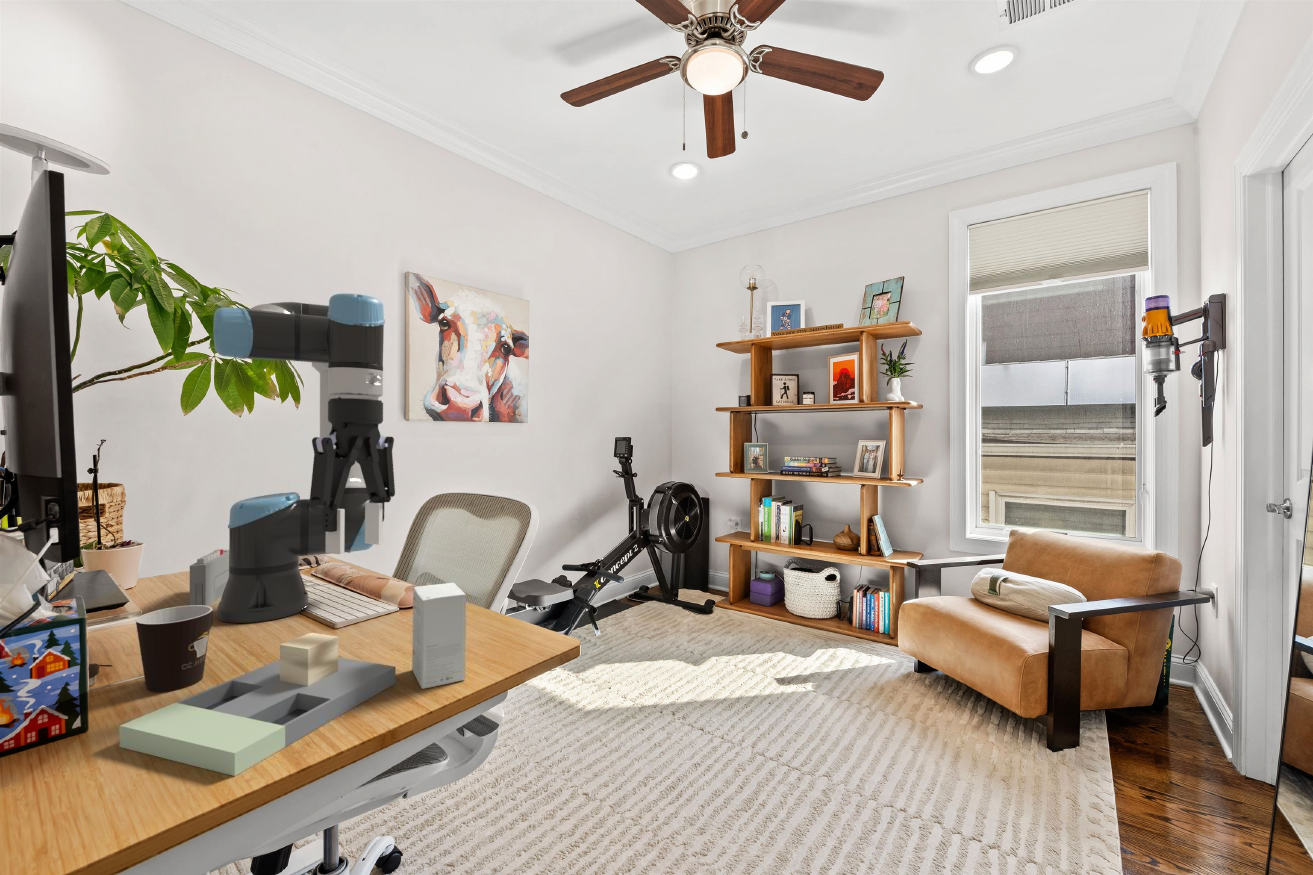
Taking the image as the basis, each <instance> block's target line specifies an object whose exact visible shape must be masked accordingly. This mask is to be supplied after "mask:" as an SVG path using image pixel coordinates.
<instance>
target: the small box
mask: <svg viewBox="0 0 1313 875" xmlns="http://www.w3.org/2000/svg"><path fill="white" fill-rule="evenodd" d="M412 590H413V592H412V596H413V597H412V653H411V655H412V656H411V670H412V672H413V674H414V676H415V678H416V681H417V682H418V685H419V686H420V688H421V689H422V690H424V689H428V688H429V689H430V688H433V687H438V686H439V687H440V686H442V685H443V686H444V685H448V684H452V683H456V682H462V681H465V680H466V664H467V663H466V662H467V661H466V650H467V648H466V647H467V646H466V643H467V642H466V640H467V638H466V636H467V635H466V634H467V632H466V631H467V630H466V629H467V626H466V624H467V594H466V593H465V592H464V591H463V590H462V589H461V587H459V586H458V585H457V584H456V583H455V582H447V583H438V584H437V583H436V584H429V585H420V586H413V589H412Z"/></svg>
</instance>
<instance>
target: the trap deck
mask: <svg viewBox="0 0 1313 875" xmlns="http://www.w3.org/2000/svg"><path fill="white" fill-rule="evenodd" d="M396 668H397V667H396V666H393V665H388V664H382V663H376V662H375V663H374V662H370V661H363V660H356V659H350V658H346V657H339V656H338V672H336V673H334V674H332V675H330V676H327V677H325V678H323V679H321V680H319V681H317V682H315V683H313V684H311V685H309V686H306V685H300V684H295V683H289V682H284V681H280V659H278V660H275V661H272V662H271V663H268V664H266V665H265V664H264V665H263V666H261V667H257V668H255V669H253V670H250V671H248V672H245V673H244V674H241V675H239V676H237V677H234V678H231V679H230V680H227V681H224V682H222V683H220V684H217V685H215V686H212V687H210V688H208V689H205V690H202V691H200V692H197V693H195V694H193V695H191V696H188V697H186V698H183V699H181V700H179V701H176V702H174V703H171V704H169V705H166V706H164V707H161V708H159V709H157V710H154V711H152V712H150V713H147V714H144V715H141V716H140V717H137V718H135V719H131V720H130V721H128V722H124V723H123V724H121V725H119V748H123V749H127V750H131V751H134V752H139V753H142V754H146V755H151V756H155V757H158V758H161V759H164V760H165V759H166V760H170V761H173V762H177V763H180V764H182V763H183V764H185V765H190V766H194V767H197V768H200V769H204V770H209V771H212V772H215V773H216V772H217V773H221V774H225V775H229V776H233V777H236V776H238V775H239V774H242V773H243V772H245V771H246V770H248V769H250V768H252V767H253V766H256V764H259V763H261V762H263V761H264V760H265V759H267V758H270V757H271V756H272V755H274V754H276V753H277V752H279V751H281V750H283V749H284V748H286V747H288V746H290V745H291V744H293V743H295V742H296V741H299V740H300V739H302V738H303V737H305V736H307V735H309V734H311V733H313V732H315V731H316V730H317V729H319V728H321V727H322V726H323V727H324V726H325V725H326V724H328V723H330V722H332V721H334V719H337V718H338V717H341V716H342V715H343V714H345V713H347V712H349V711H350V710H353V709H354V708H355V707H357V706H359V705H361V704H362V703H364V702H366V701H368V700H370V699H371V698H373V697H374V696H376V695H378V694H380V693H382V692H384V691H385V690H387V689H389V688H390V687H392V686H394V685H395V684H396V674H397V673H396V670H397V669H396Z"/></svg>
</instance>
